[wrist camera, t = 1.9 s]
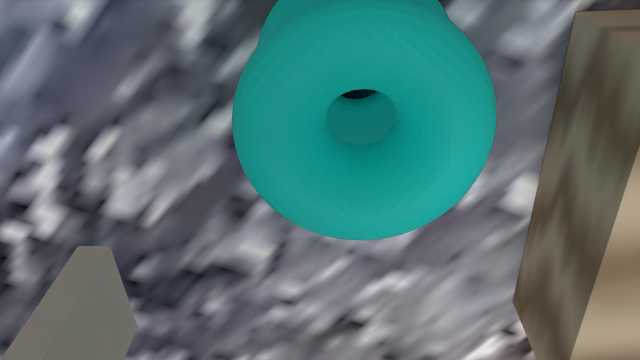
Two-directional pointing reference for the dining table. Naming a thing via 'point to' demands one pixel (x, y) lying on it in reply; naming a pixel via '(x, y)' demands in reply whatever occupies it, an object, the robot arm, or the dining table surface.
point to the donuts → (363, 115)
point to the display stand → (588, 202)
